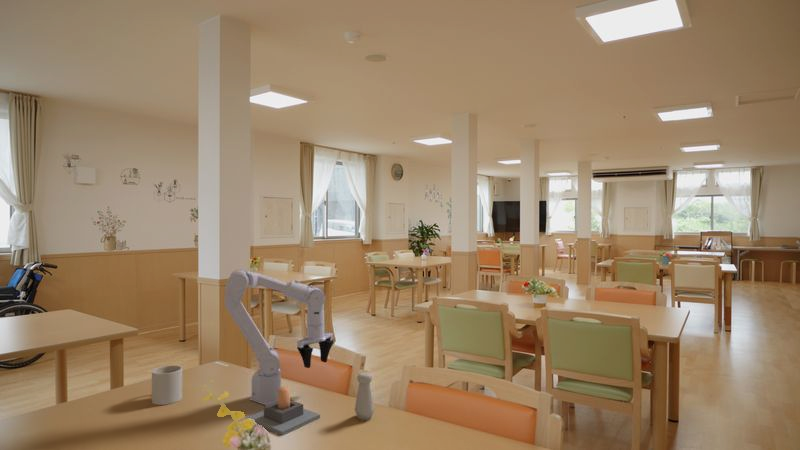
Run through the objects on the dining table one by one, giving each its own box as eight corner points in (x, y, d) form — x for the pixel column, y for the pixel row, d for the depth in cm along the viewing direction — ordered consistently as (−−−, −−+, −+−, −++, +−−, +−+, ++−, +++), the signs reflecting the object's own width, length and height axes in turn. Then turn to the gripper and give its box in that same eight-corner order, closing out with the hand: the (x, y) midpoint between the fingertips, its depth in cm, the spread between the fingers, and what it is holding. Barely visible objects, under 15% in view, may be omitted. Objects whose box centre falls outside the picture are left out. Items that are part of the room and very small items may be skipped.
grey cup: (173, 405, 144) (173, 373, 144) (144, 405, 144) (143, 373, 144) (190, 392, 155) (190, 363, 155) (162, 392, 155) (162, 363, 155)
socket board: (246, 420, 133) (246, 406, 133) (284, 405, 144) (284, 392, 144) (282, 435, 123) (282, 420, 123) (320, 417, 135) (320, 404, 135)
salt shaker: (371, 422, 132) (371, 377, 132) (352, 420, 133) (352, 376, 133) (376, 414, 137) (376, 371, 137) (358, 412, 138) (358, 369, 138)
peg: (275, 416, 133) (275, 389, 133) (284, 412, 136) (284, 385, 136) (283, 419, 131) (282, 391, 131) (292, 415, 134) (292, 388, 134)
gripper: (307, 329, 145) (307, 372, 145) (339, 321, 156) (339, 361, 156) (292, 326, 149) (292, 368, 149) (324, 319, 161) (324, 357, 161)
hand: (315, 364), depth 153 cm, fingers open, 7 cm apart
